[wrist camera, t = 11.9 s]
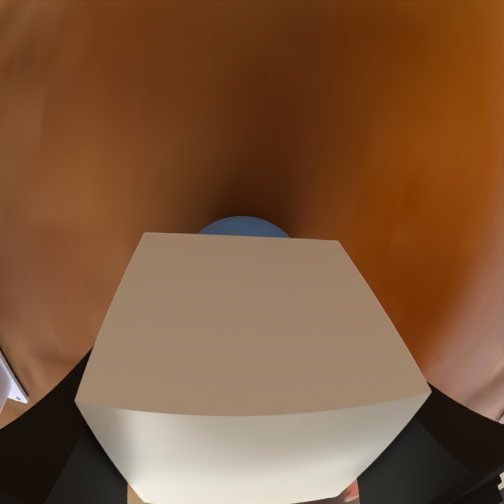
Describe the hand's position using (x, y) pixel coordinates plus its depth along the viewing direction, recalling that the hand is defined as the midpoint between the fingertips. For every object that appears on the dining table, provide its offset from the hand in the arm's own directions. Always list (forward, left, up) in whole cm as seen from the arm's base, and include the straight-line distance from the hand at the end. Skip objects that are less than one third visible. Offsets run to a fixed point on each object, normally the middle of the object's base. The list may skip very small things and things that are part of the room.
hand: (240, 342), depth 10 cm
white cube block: (0, 0, -2) cm, 2 cm away
